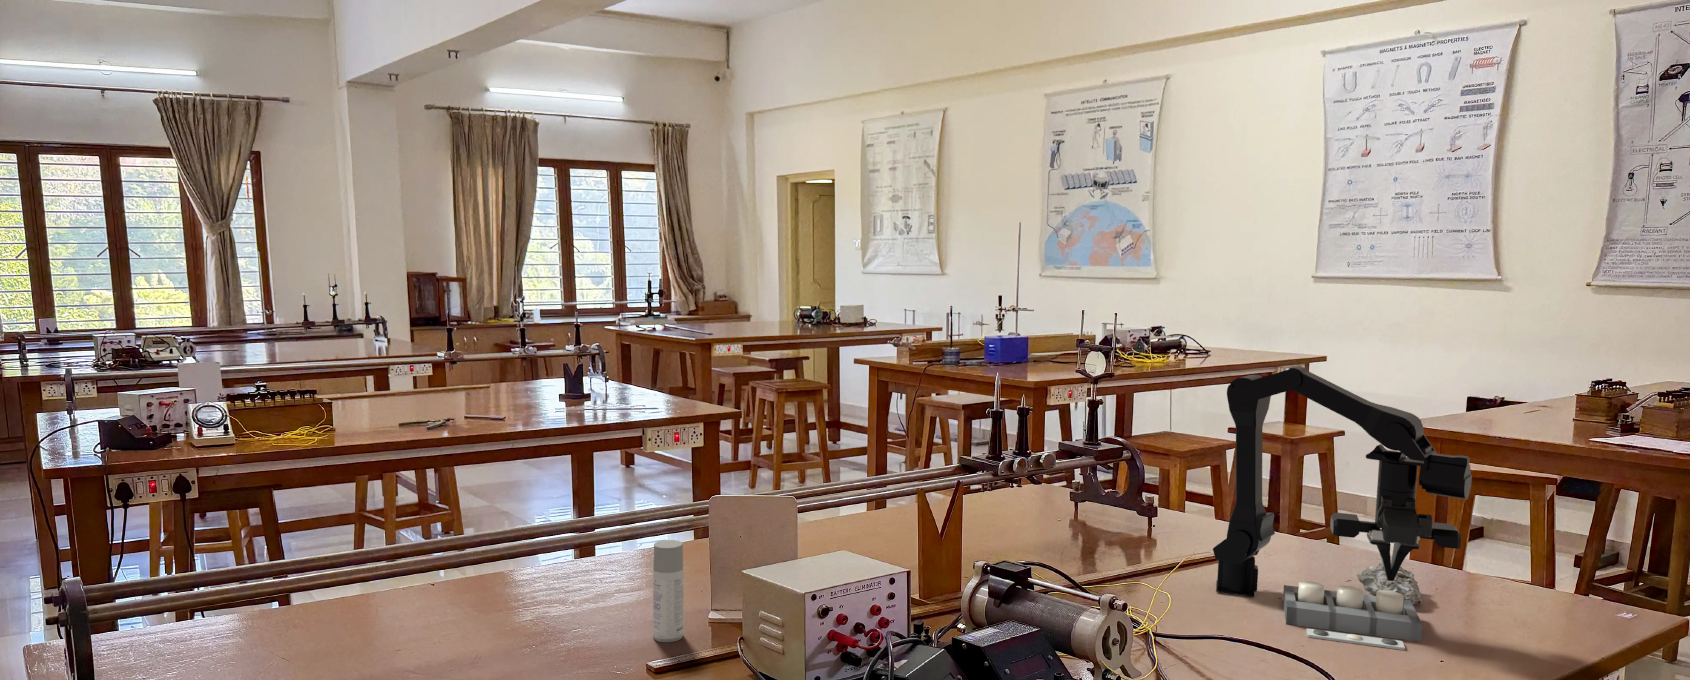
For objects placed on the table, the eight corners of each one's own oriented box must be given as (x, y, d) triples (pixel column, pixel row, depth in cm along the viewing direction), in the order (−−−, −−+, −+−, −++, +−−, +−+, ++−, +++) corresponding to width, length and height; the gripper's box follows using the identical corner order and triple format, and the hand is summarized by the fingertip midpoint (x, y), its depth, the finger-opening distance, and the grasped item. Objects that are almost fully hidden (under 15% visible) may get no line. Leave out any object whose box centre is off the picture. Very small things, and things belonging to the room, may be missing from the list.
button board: (1286, 623, 173) (1287, 606, 173) (1282, 601, 184) (1283, 584, 184) (1420, 641, 166) (1422, 623, 166) (1408, 617, 177) (1410, 600, 177)
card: (1307, 636, 167) (1308, 633, 167) (1306, 630, 170) (1306, 627, 170) (1404, 650, 162) (1405, 646, 162) (1401, 643, 165) (1402, 639, 165)
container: (647, 639, 161) (647, 546, 160) (662, 629, 166) (662, 538, 164) (673, 644, 160) (674, 549, 158) (688, 633, 164) (688, 541, 163)
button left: (1298, 607, 176) (1299, 586, 176) (1296, 600, 180) (1298, 579, 179) (1324, 610, 174) (1325, 589, 174) (1322, 603, 178) (1323, 582, 178)
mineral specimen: (1414, 594, 191) (1435, 611, 180) (1351, 591, 194) (1368, 607, 182) (1414, 562, 191) (1435, 577, 180) (1351, 559, 194) (1368, 574, 182)
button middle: (1337, 612, 174) (1338, 591, 173) (1334, 604, 177) (1336, 584, 177) (1363, 615, 172) (1364, 594, 172) (1360, 607, 176) (1361, 587, 176)
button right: (1376, 617, 172) (1378, 596, 171) (1373, 609, 175) (1375, 588, 175) (1403, 620, 170) (1405, 599, 170) (1400, 612, 174) (1401, 592, 174)
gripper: (1339, 493, 167) (1333, 587, 168) (1471, 505, 160) (1464, 603, 162) (1332, 479, 177) (1327, 567, 178) (1457, 490, 171) (1450, 582, 172)
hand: (1390, 580), depth 172 cm, fingers closed
